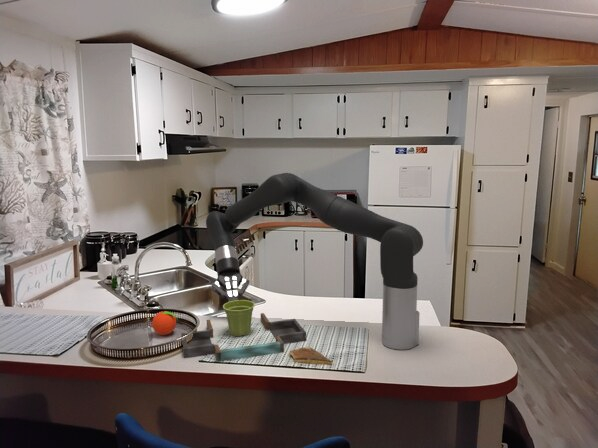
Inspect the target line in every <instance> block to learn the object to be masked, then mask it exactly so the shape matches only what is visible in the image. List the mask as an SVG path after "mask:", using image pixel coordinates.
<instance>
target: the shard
mask: <svg viewBox="0 0 598 448" xmlns="http://www.w3.org/2000/svg"><path fill="white" fill-rule="evenodd" d="M288 354H289V355H290V356H291V357H292V358H293V363H295V362H298V363H299V362H300V363H303V364H304V363H306V364H315V365H326V366H327V365H328V366H330V365H332V363H333V360H330V359H329V358H327V357H326V356H325V355H324V354H322V353H320V352H319V351H317V350H316V349H314V348H312V347H308V346H307V347H304V346H303V347H300V348H297V349H293V350H290V351H289V352H288Z"/></svg>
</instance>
